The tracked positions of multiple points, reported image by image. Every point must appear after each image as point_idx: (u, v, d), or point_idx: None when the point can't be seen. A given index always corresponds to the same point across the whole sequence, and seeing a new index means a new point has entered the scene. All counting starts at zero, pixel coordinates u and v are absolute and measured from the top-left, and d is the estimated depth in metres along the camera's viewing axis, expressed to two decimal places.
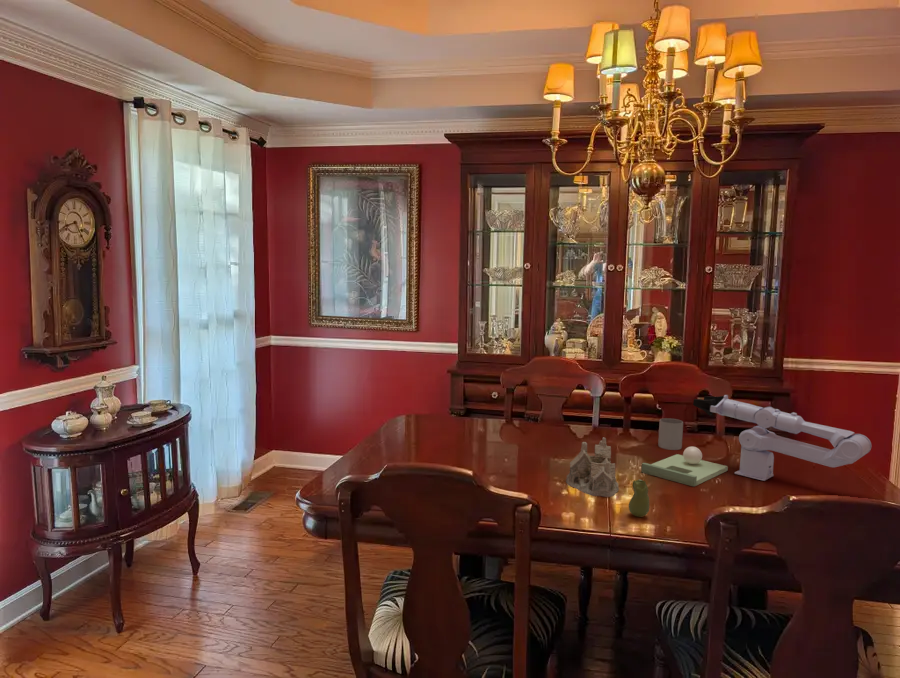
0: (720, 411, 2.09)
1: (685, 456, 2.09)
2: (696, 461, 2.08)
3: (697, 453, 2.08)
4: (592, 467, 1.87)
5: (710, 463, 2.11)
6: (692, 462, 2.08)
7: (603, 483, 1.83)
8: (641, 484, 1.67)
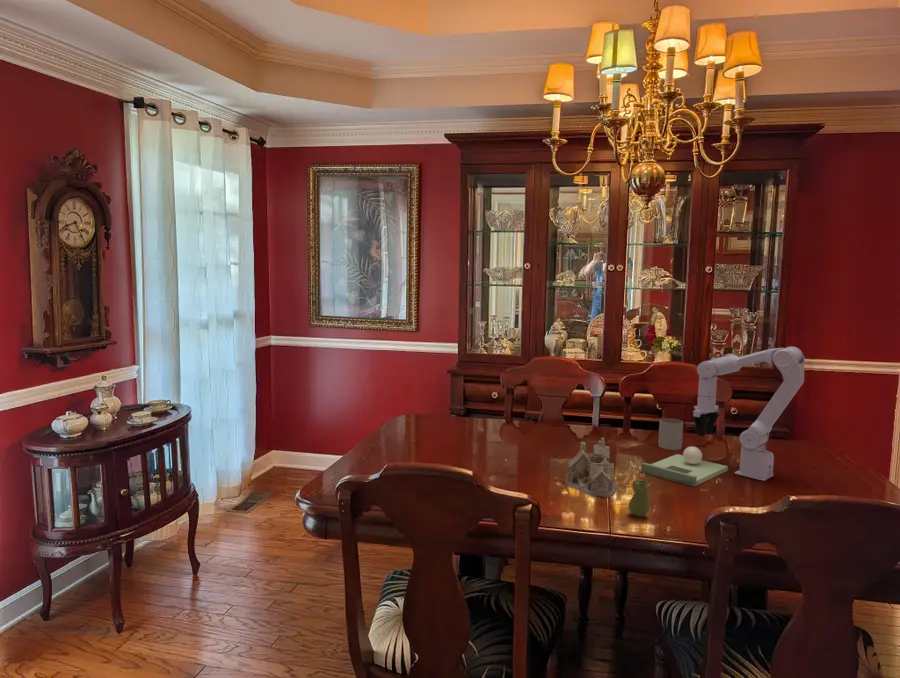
0: (705, 410, 2.11)
1: (685, 456, 2.09)
2: (696, 461, 2.08)
3: (697, 453, 2.08)
4: (591, 467, 1.87)
5: (710, 463, 2.11)
6: (692, 462, 2.08)
7: (602, 483, 1.83)
8: (641, 484, 1.67)
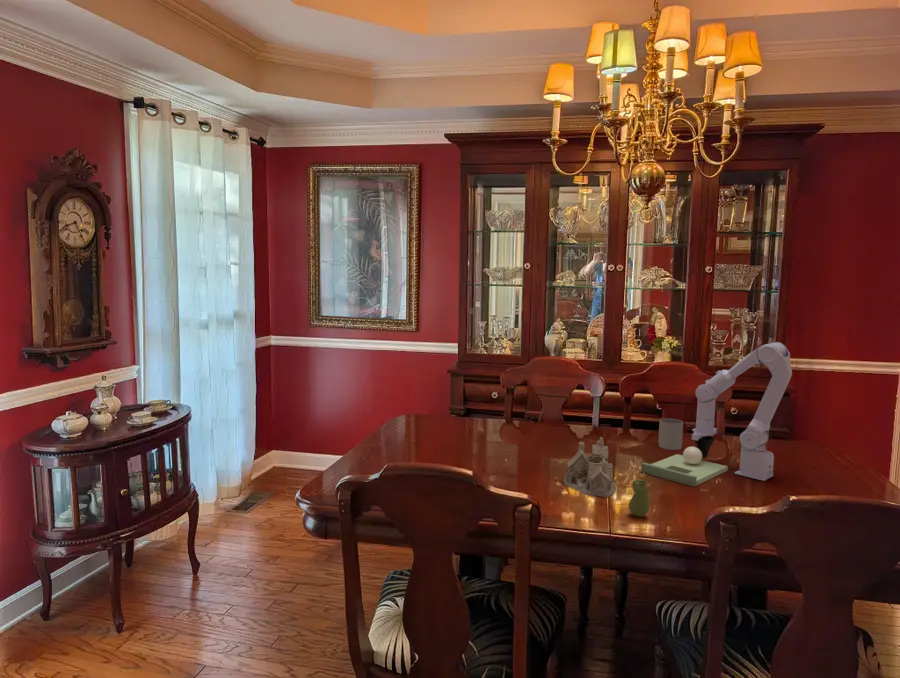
0: (704, 433, 2.12)
1: (685, 456, 2.09)
2: (696, 461, 2.08)
3: (697, 453, 2.08)
4: (589, 467, 1.87)
5: (710, 463, 2.11)
6: (692, 462, 2.08)
7: (600, 483, 1.83)
8: (641, 484, 1.67)
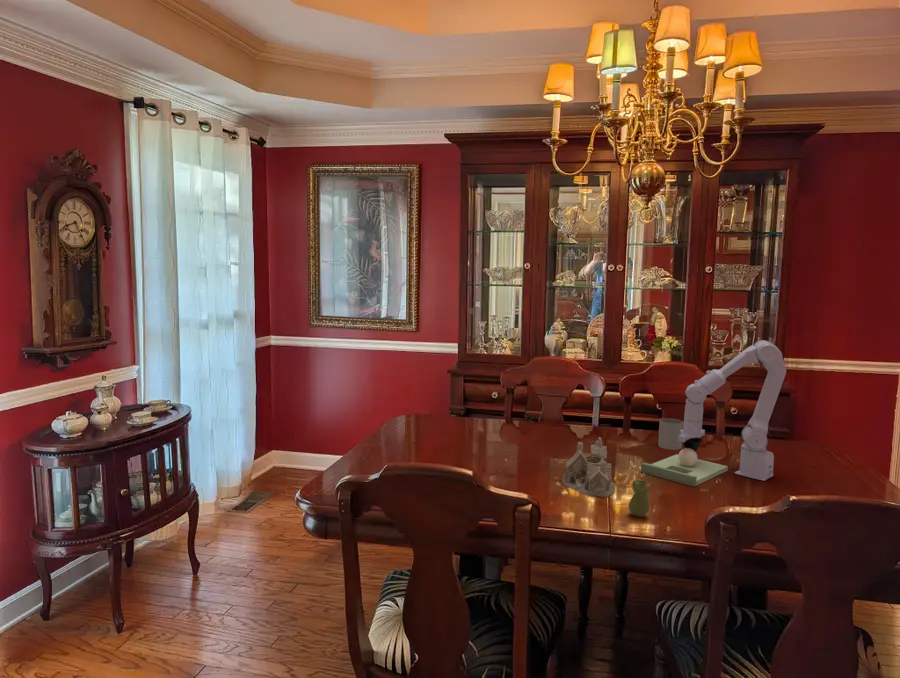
0: (691, 435, 2.07)
1: None
2: (694, 463, 2.07)
3: (691, 459, 2.06)
4: (588, 467, 1.87)
5: (710, 463, 2.11)
6: (691, 465, 2.08)
7: (599, 483, 1.83)
8: (641, 484, 1.67)
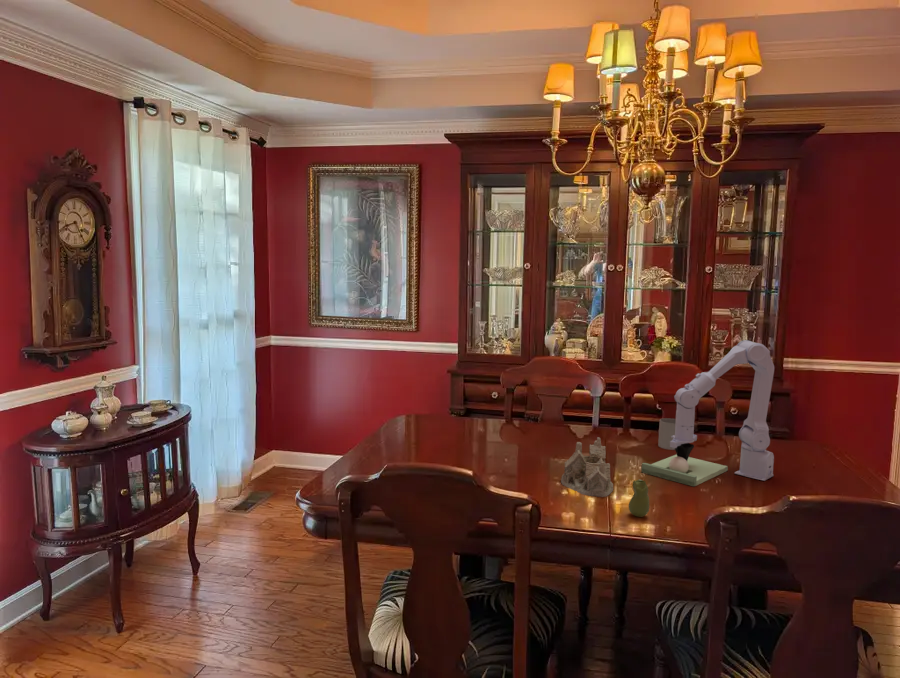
0: (683, 441, 2.02)
1: None
2: (686, 462, 2.02)
3: None
4: (587, 467, 1.87)
5: (710, 463, 2.11)
6: None
7: (598, 483, 1.83)
8: (641, 484, 1.67)
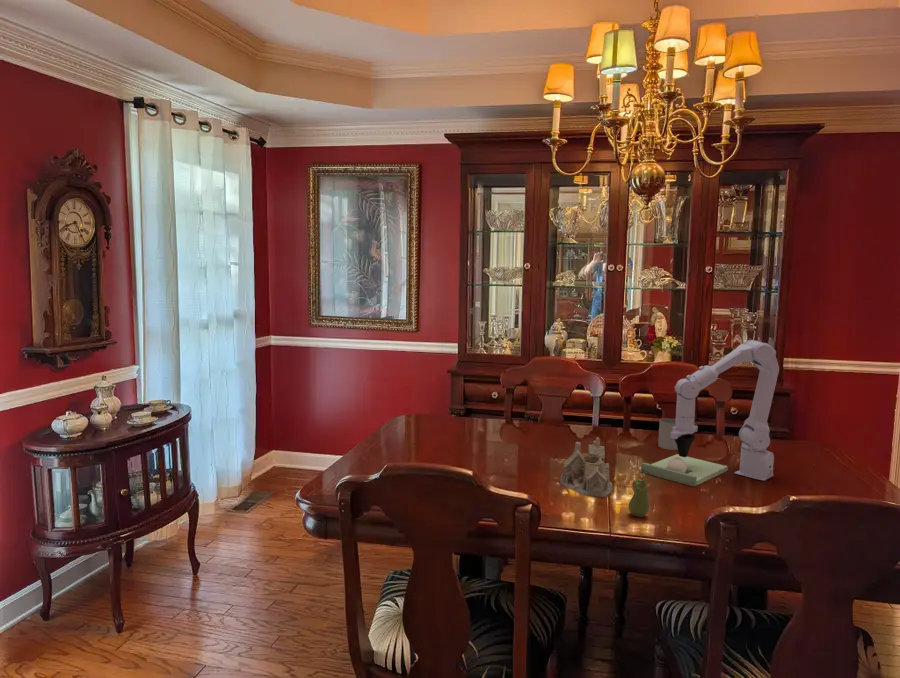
0: (683, 431, 2.02)
1: None
2: (683, 464, 2.00)
3: None
4: (586, 467, 1.87)
5: (710, 463, 2.11)
6: (681, 460, 2.01)
7: (597, 483, 1.83)
8: (641, 484, 1.67)
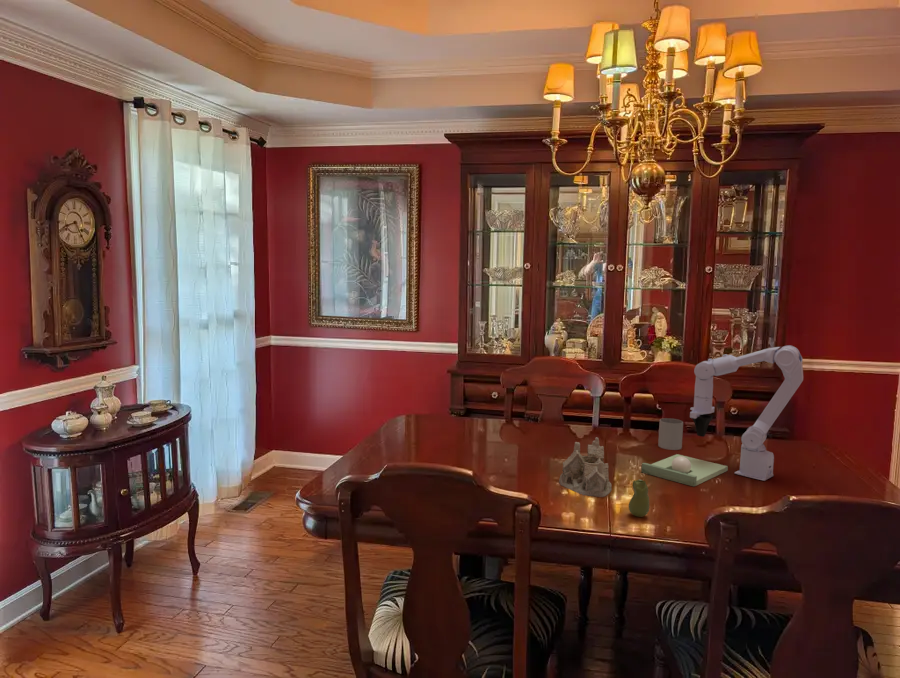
0: (702, 411, 2.09)
1: None
2: (690, 463, 2.02)
3: None
4: (585, 467, 1.87)
5: (710, 463, 2.11)
6: (688, 460, 2.03)
7: (596, 483, 1.83)
8: (641, 484, 1.67)
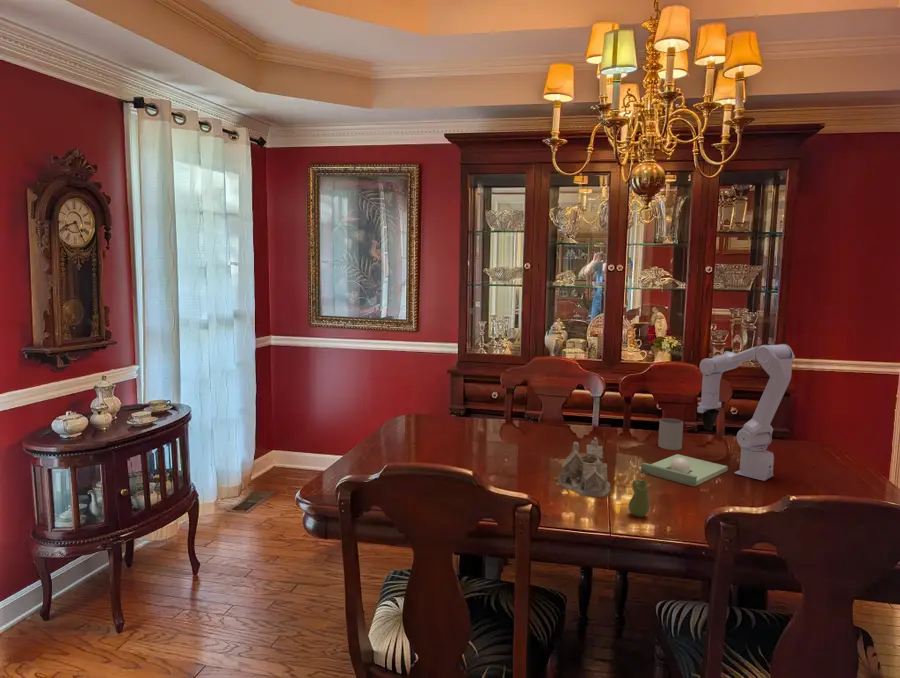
0: (709, 406, 2.17)
1: None
2: (688, 465, 2.00)
3: None
4: (584, 467, 1.87)
5: (710, 463, 2.11)
6: (687, 461, 2.01)
7: (595, 483, 1.83)
8: (641, 484, 1.67)
